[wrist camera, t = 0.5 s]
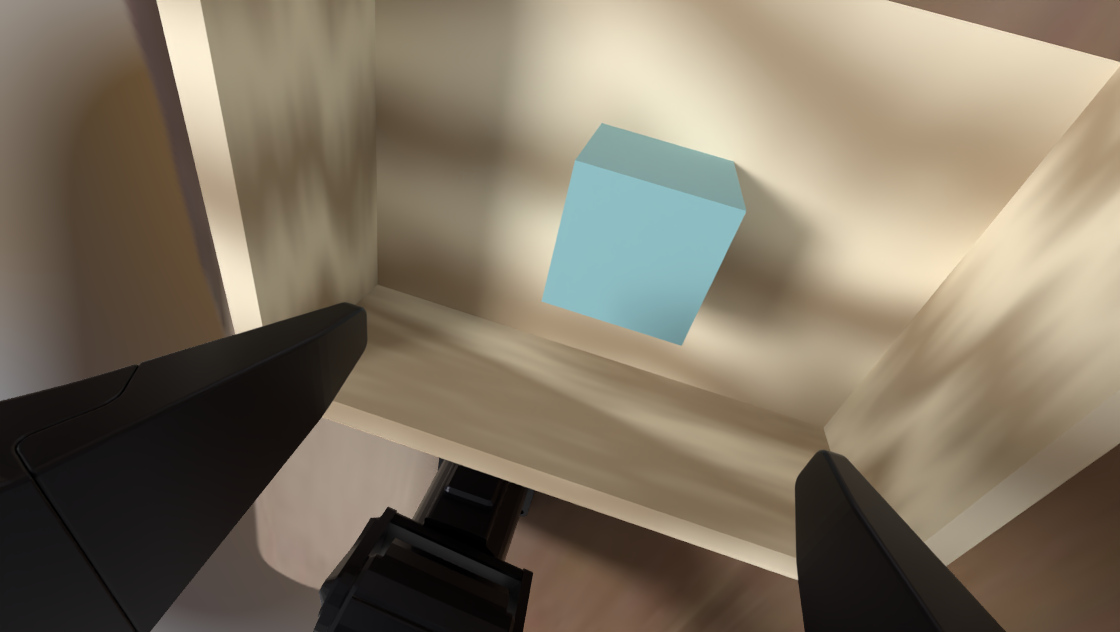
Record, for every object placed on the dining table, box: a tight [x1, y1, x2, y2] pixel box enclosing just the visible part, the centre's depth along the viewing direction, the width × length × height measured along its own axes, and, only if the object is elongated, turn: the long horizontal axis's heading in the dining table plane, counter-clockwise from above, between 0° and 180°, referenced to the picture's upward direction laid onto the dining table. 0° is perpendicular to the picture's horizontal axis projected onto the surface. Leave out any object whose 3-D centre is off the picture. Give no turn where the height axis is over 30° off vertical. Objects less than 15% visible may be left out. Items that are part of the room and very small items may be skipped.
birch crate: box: [157, 0, 1120, 580], centre depth 16 cm, size 17×25×8 cm
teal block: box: [542, 123, 746, 346], centre depth 17 cm, size 5×5×5 cm
